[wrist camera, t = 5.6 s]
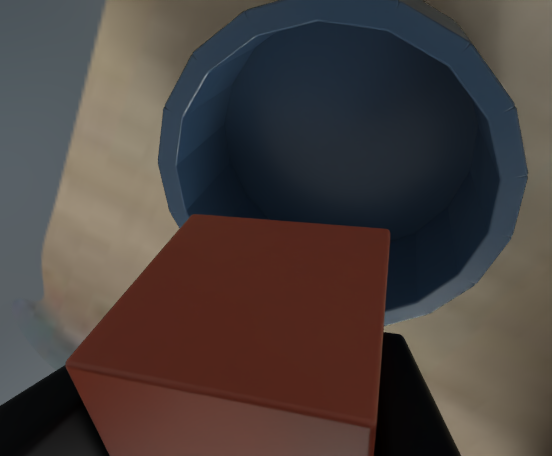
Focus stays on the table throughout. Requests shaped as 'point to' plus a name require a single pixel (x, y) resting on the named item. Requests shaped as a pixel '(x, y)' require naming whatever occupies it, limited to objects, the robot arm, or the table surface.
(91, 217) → the table surface
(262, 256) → the block
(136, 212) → the table surface
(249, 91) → the tin
